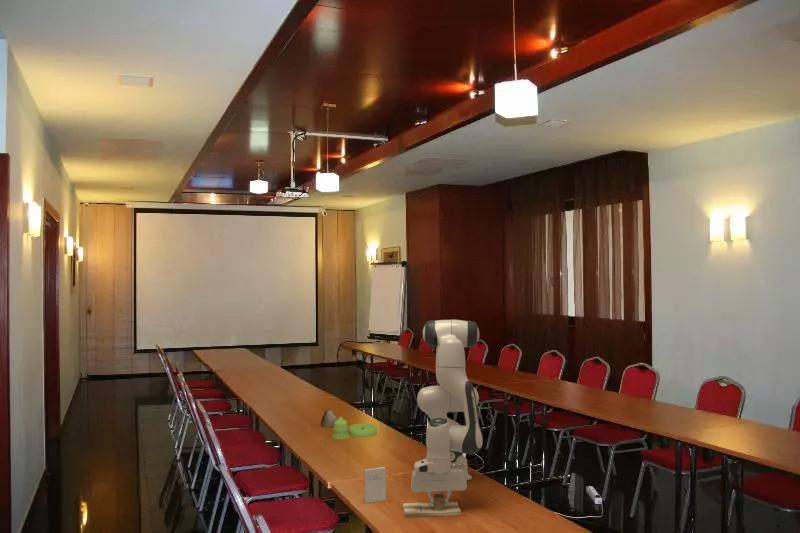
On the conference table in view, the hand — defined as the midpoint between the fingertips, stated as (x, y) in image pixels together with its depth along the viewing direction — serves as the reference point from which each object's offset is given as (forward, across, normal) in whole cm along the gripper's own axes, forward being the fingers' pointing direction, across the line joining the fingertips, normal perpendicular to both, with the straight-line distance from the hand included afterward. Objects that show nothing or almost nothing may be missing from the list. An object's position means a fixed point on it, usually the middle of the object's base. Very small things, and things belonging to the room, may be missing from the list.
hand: (439, 503), depth 239 cm
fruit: (+3, +45, -134) cm, 141 cm away
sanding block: (+1, 0, 0) cm, 1 cm away
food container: (+3, +31, -112) cm, 116 cm away
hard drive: (+3, +23, -12) cm, 26 cm away
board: (+3, +3, 0) cm, 4 cm away
